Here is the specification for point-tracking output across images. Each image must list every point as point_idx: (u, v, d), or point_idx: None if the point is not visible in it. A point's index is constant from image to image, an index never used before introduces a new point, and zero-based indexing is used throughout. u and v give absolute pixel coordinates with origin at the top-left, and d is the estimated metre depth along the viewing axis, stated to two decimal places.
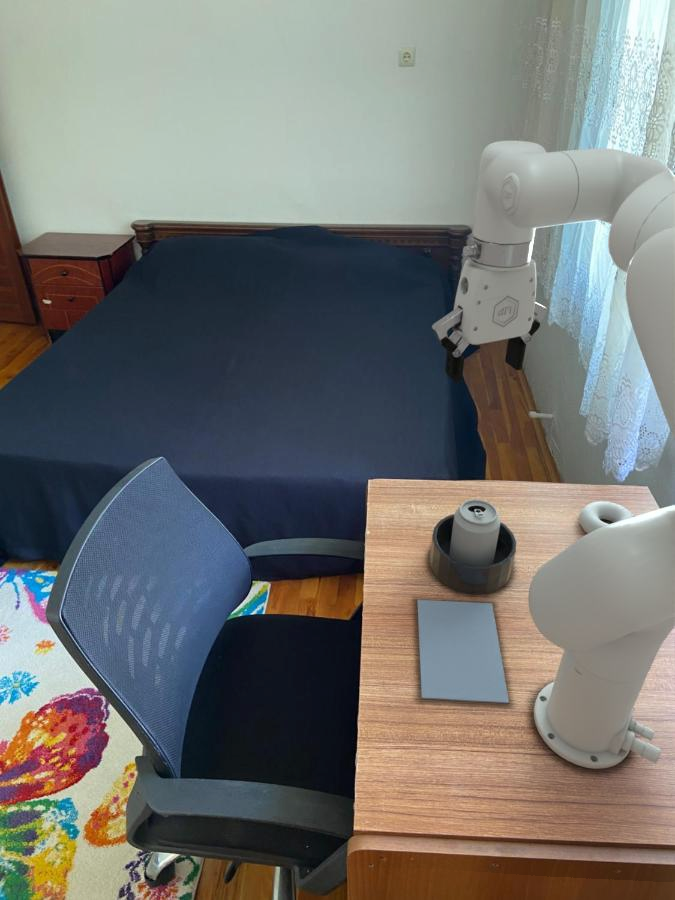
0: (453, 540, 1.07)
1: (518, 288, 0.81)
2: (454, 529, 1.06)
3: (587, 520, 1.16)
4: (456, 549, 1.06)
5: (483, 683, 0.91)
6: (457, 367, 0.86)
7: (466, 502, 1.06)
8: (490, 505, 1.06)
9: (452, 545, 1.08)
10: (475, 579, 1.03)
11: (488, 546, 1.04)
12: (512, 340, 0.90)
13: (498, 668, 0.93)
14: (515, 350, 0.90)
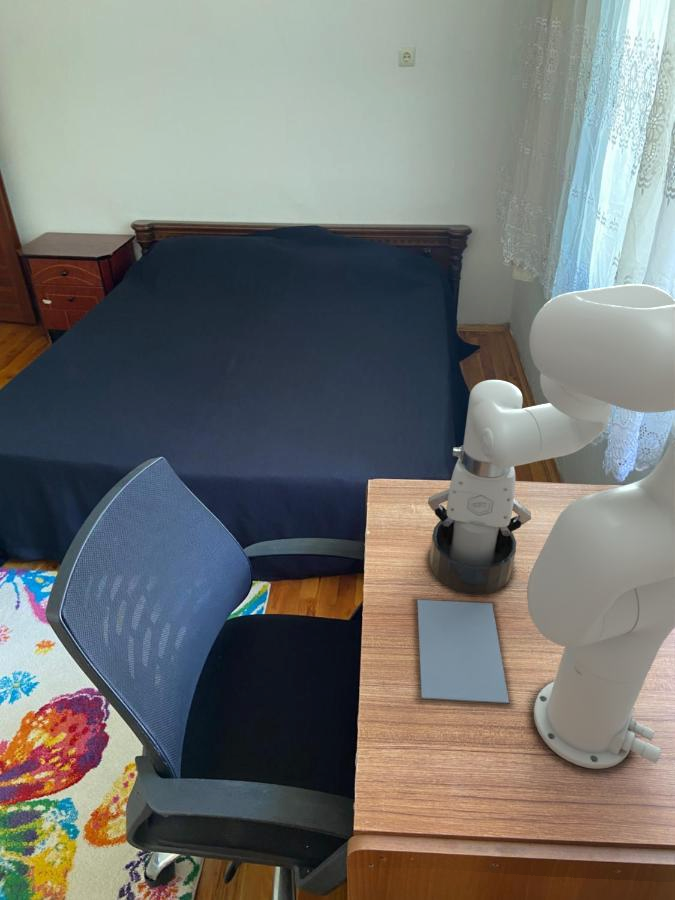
0: (453, 540, 1.07)
1: (491, 492, 0.98)
2: (454, 529, 1.06)
3: None
4: (456, 549, 1.06)
5: (483, 683, 0.91)
6: (447, 533, 1.07)
7: None
8: None
9: (452, 545, 1.08)
10: (475, 579, 1.03)
11: (488, 546, 1.04)
12: None
13: (498, 668, 0.93)
14: None
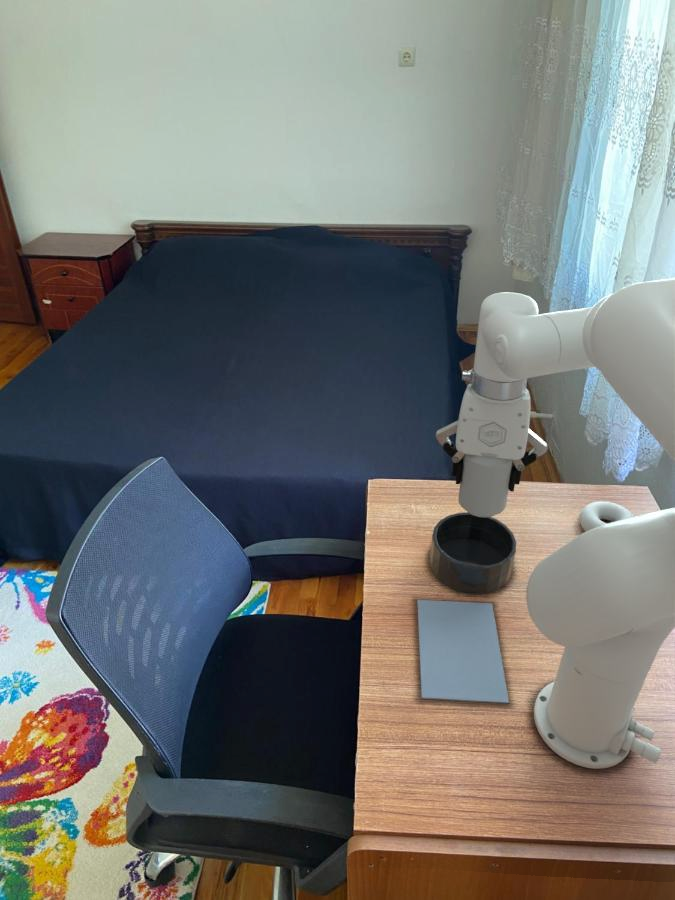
0: (463, 478, 0.99)
1: (505, 418, 0.90)
2: (464, 465, 0.98)
3: (587, 520, 1.16)
4: (466, 487, 0.98)
5: (483, 683, 0.91)
6: (456, 471, 0.99)
7: None
8: None
9: (462, 484, 1.00)
10: (475, 579, 1.03)
11: (501, 482, 0.96)
12: None
13: (498, 668, 0.93)
14: (511, 473, 0.98)
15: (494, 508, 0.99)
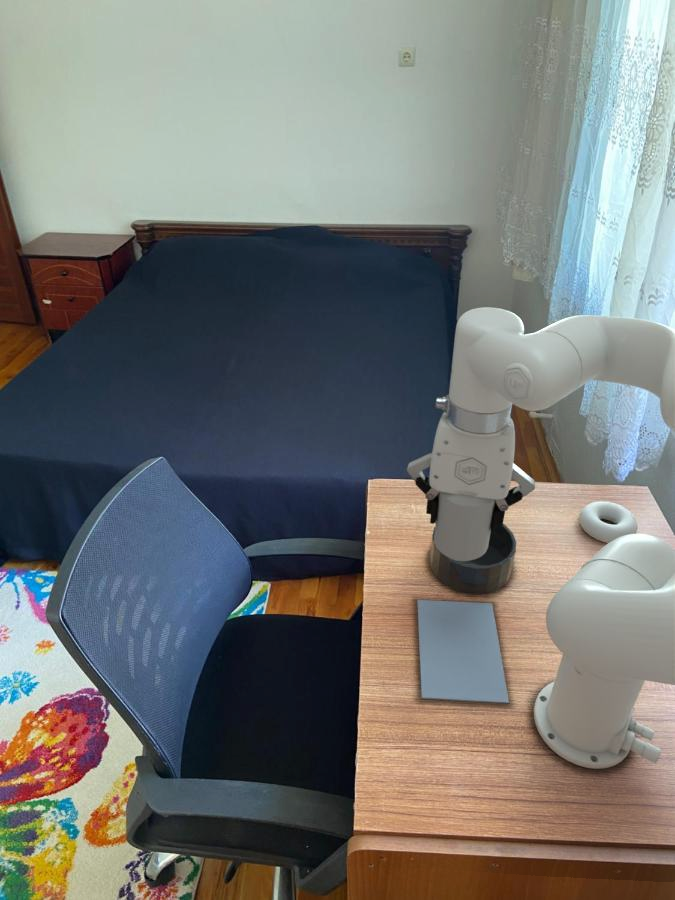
0: (438, 517, 0.86)
1: (485, 453, 0.78)
2: (439, 503, 0.85)
3: (587, 520, 1.16)
4: (442, 527, 0.86)
5: (483, 683, 0.91)
6: (431, 509, 0.86)
7: None
8: None
9: (437, 523, 0.87)
10: (475, 579, 1.03)
11: (481, 524, 0.83)
12: None
13: (498, 668, 0.93)
14: None
15: (473, 551, 0.86)
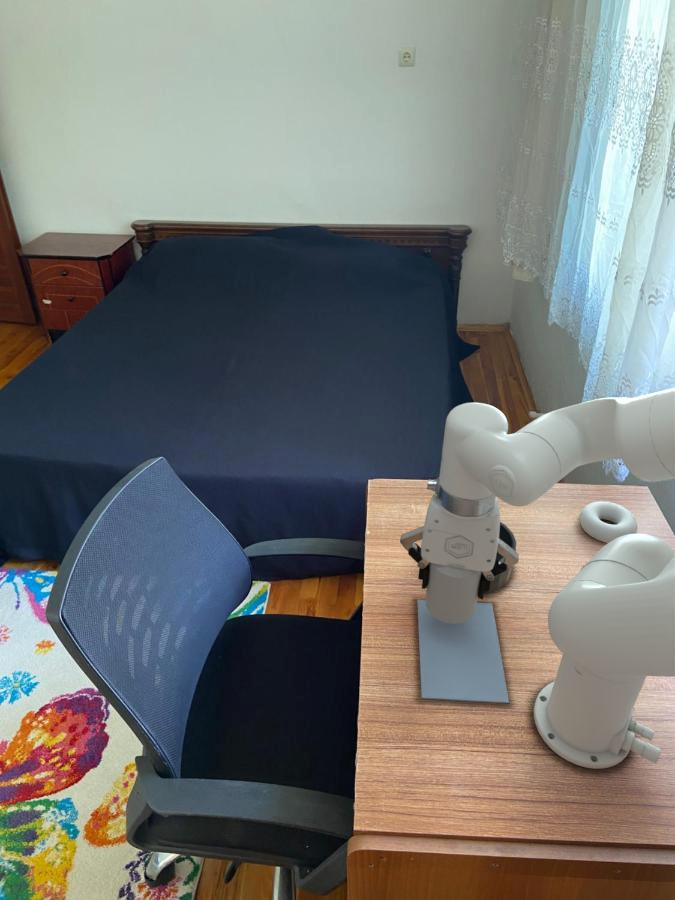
0: (429, 583, 0.93)
1: (472, 532, 0.84)
2: (430, 571, 0.92)
3: (587, 520, 1.16)
4: (433, 594, 0.92)
5: (483, 683, 0.91)
6: (422, 576, 0.93)
7: None
8: None
9: (428, 589, 0.94)
10: None
11: (469, 592, 0.90)
12: None
13: (498, 668, 0.93)
14: None
15: (462, 616, 0.93)
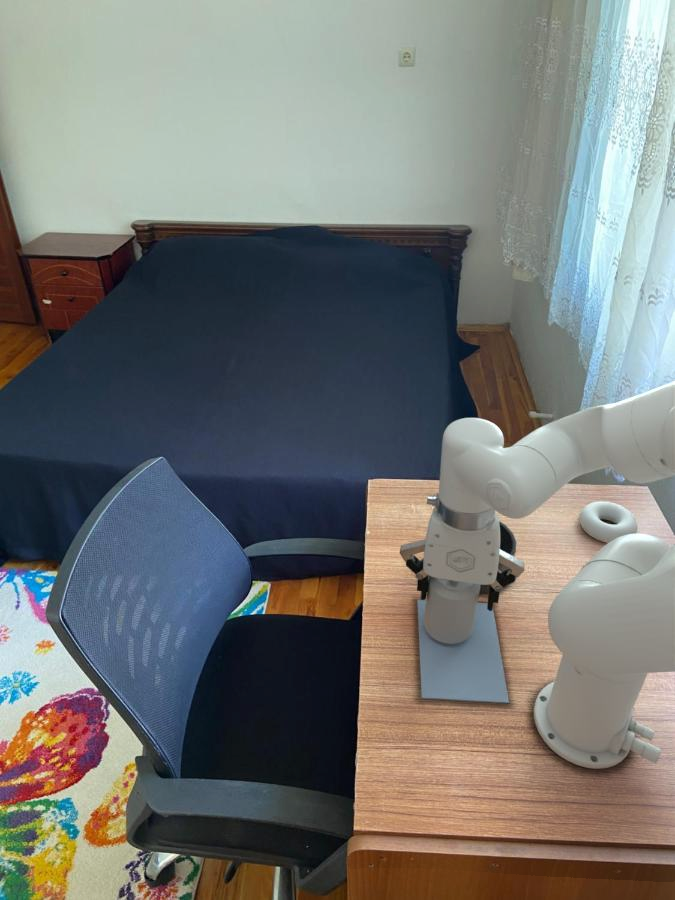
0: (427, 604, 0.95)
1: (473, 546, 0.85)
2: (428, 593, 0.94)
3: (587, 520, 1.16)
4: (431, 615, 0.95)
5: (483, 683, 0.91)
6: (421, 587, 0.94)
7: None
8: None
9: (426, 610, 0.96)
10: None
11: (466, 614, 0.93)
12: None
13: (498, 668, 0.93)
14: (489, 592, 0.92)
15: (459, 636, 0.95)
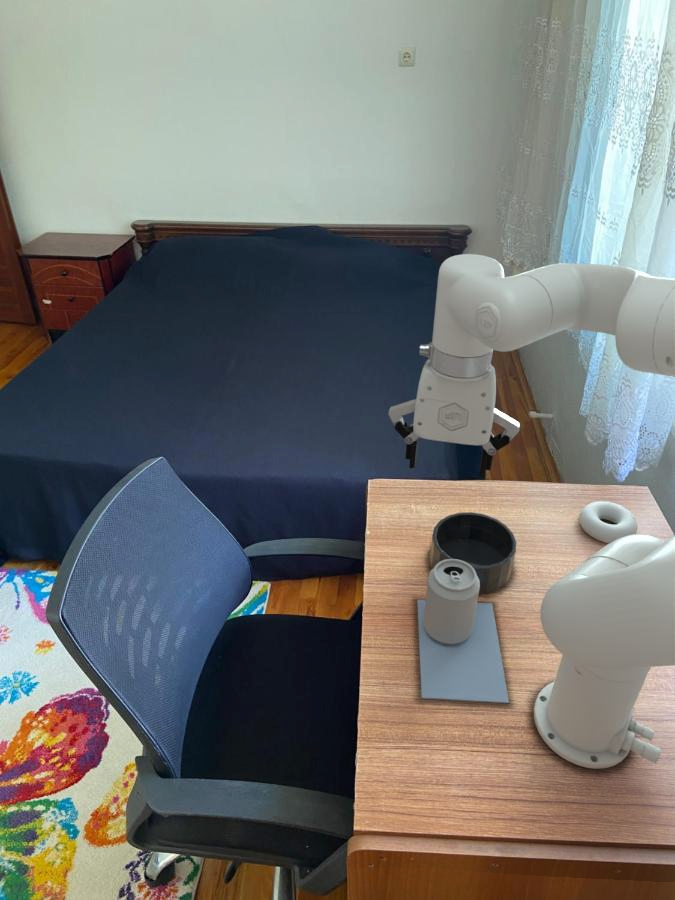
0: (427, 605, 0.95)
1: (467, 398, 0.80)
2: (428, 593, 0.94)
3: (587, 520, 1.16)
4: (430, 615, 0.95)
5: (483, 683, 0.91)
6: (410, 453, 0.89)
7: (441, 562, 0.95)
8: (468, 566, 0.94)
9: (426, 610, 0.96)
10: None
11: (465, 614, 0.93)
12: None
13: (498, 668, 0.93)
14: (481, 457, 0.87)
15: (459, 636, 0.95)
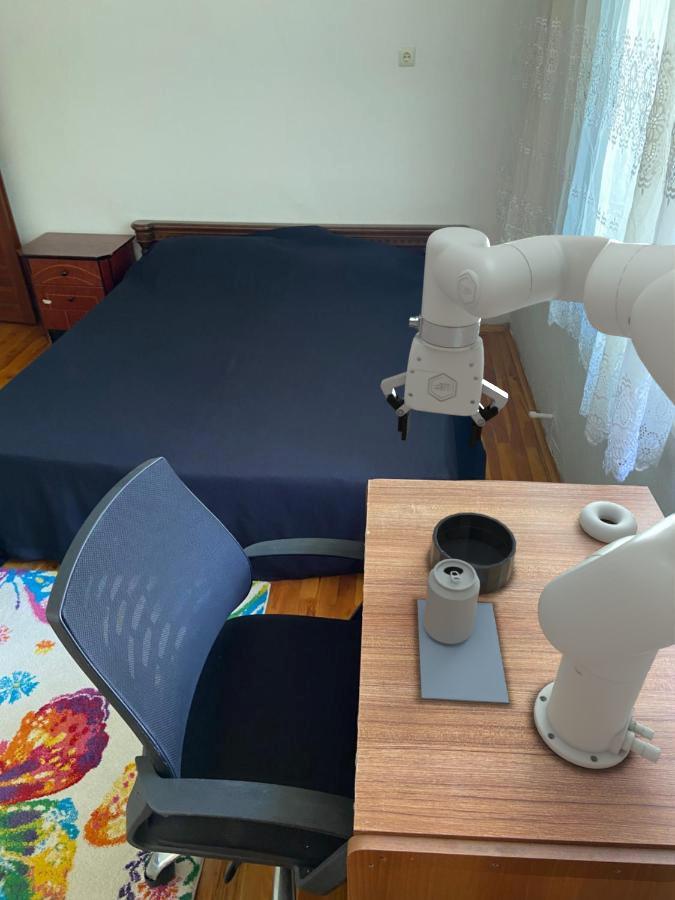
0: (427, 605, 0.95)
1: (455, 369, 0.82)
2: (428, 593, 0.94)
3: (587, 520, 1.16)
4: (430, 615, 0.95)
5: (483, 683, 0.91)
6: (402, 425, 0.91)
7: (441, 562, 0.95)
8: (468, 566, 0.94)
9: (426, 610, 0.96)
10: None
11: (465, 614, 0.93)
12: (473, 419, 0.90)
13: (498, 668, 0.93)
14: None
15: (459, 636, 0.95)
